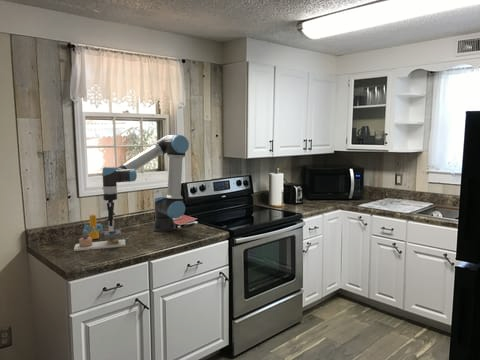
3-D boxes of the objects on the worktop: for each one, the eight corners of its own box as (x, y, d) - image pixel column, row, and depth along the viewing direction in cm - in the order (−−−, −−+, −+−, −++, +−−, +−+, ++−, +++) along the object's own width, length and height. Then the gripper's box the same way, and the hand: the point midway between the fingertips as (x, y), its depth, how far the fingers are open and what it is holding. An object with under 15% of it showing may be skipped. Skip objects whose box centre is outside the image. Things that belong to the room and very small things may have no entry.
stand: (118, 240, 230) (118, 228, 229) (118, 243, 224) (117, 231, 223) (107, 241, 228) (106, 229, 228) (107, 244, 222) (106, 232, 221)
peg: (92, 243, 226) (91, 228, 225) (91, 246, 220) (90, 231, 219) (80, 244, 224) (79, 229, 223) (78, 247, 218) (77, 232, 217)
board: (125, 241, 234) (125, 239, 234) (125, 246, 223) (125, 244, 223) (76, 245, 226) (75, 243, 225) (73, 251, 215) (73, 249, 215)
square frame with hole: (120, 233, 231) (120, 229, 231) (120, 237, 223) (120, 233, 223) (104, 235, 229) (104, 231, 229) (104, 238, 220) (104, 234, 220)
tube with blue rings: (96, 235, 250) (95, 212, 248) (107, 236, 245) (105, 214, 243) (80, 239, 239) (78, 216, 238) (91, 241, 234) (89, 217, 232)
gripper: (104, 190, 234) (105, 224, 236) (102, 196, 210) (103, 234, 212) (117, 190, 236) (118, 223, 238) (116, 195, 212) (117, 233, 214)
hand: (111, 228), depth 225 cm, fingers open, 13 cm apart
